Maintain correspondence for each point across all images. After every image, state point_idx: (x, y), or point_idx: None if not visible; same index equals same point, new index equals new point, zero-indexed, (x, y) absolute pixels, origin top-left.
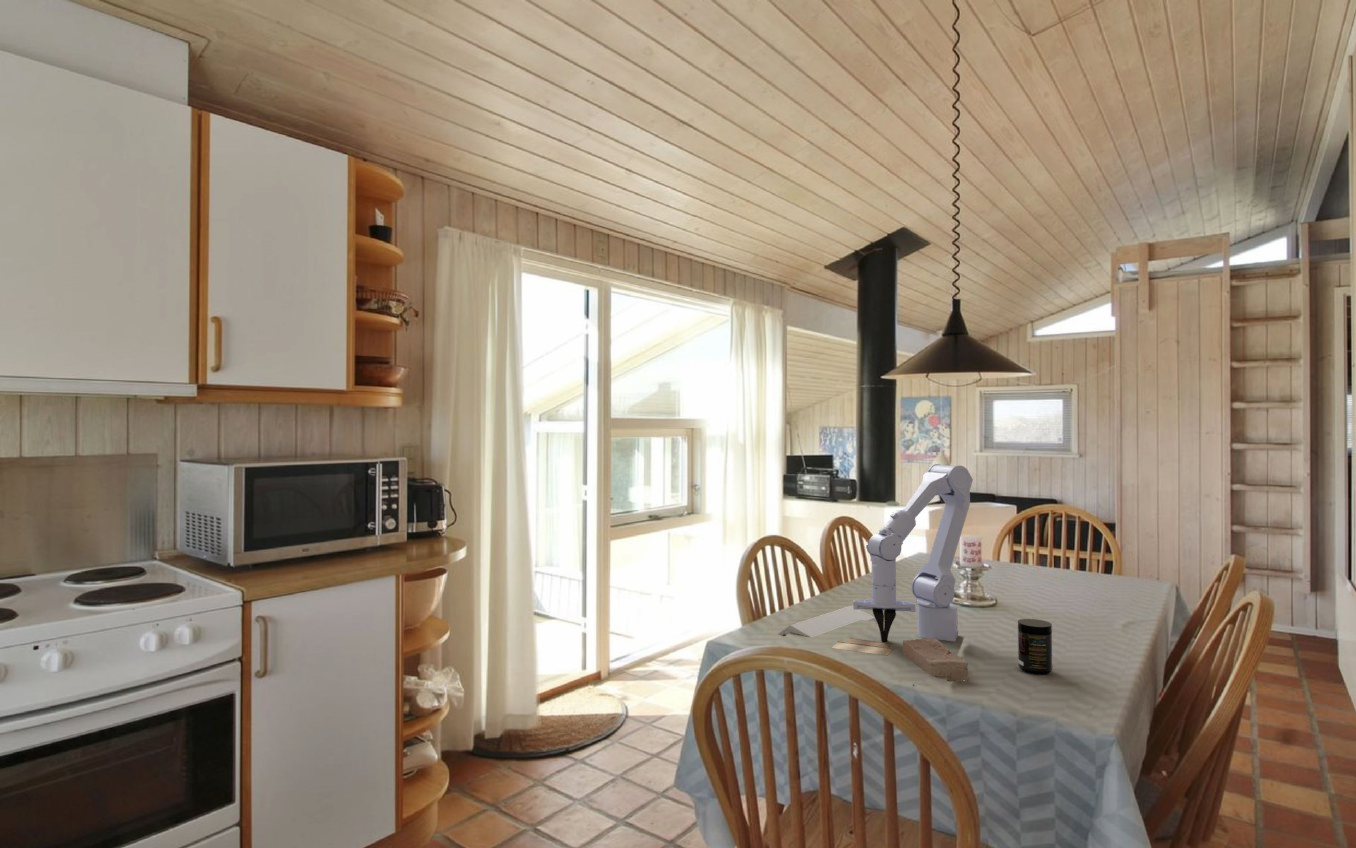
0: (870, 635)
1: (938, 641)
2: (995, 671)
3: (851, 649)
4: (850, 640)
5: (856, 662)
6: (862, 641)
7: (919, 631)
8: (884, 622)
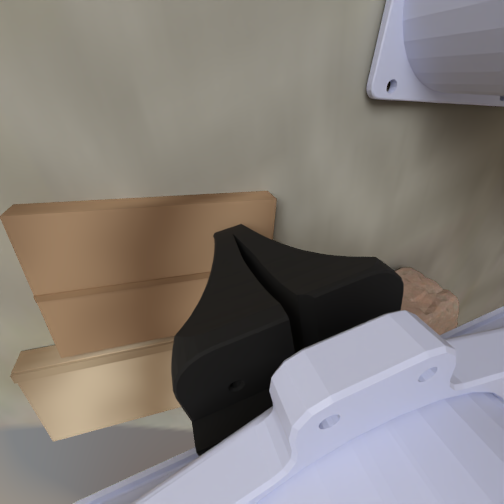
0: (64, 16)
1: (455, 320)
2: (497, 287)
3: (138, 410)
4: (64, 329)
5: (182, 422)
6: (131, 308)
7: (442, 41)
8: (262, 271)
